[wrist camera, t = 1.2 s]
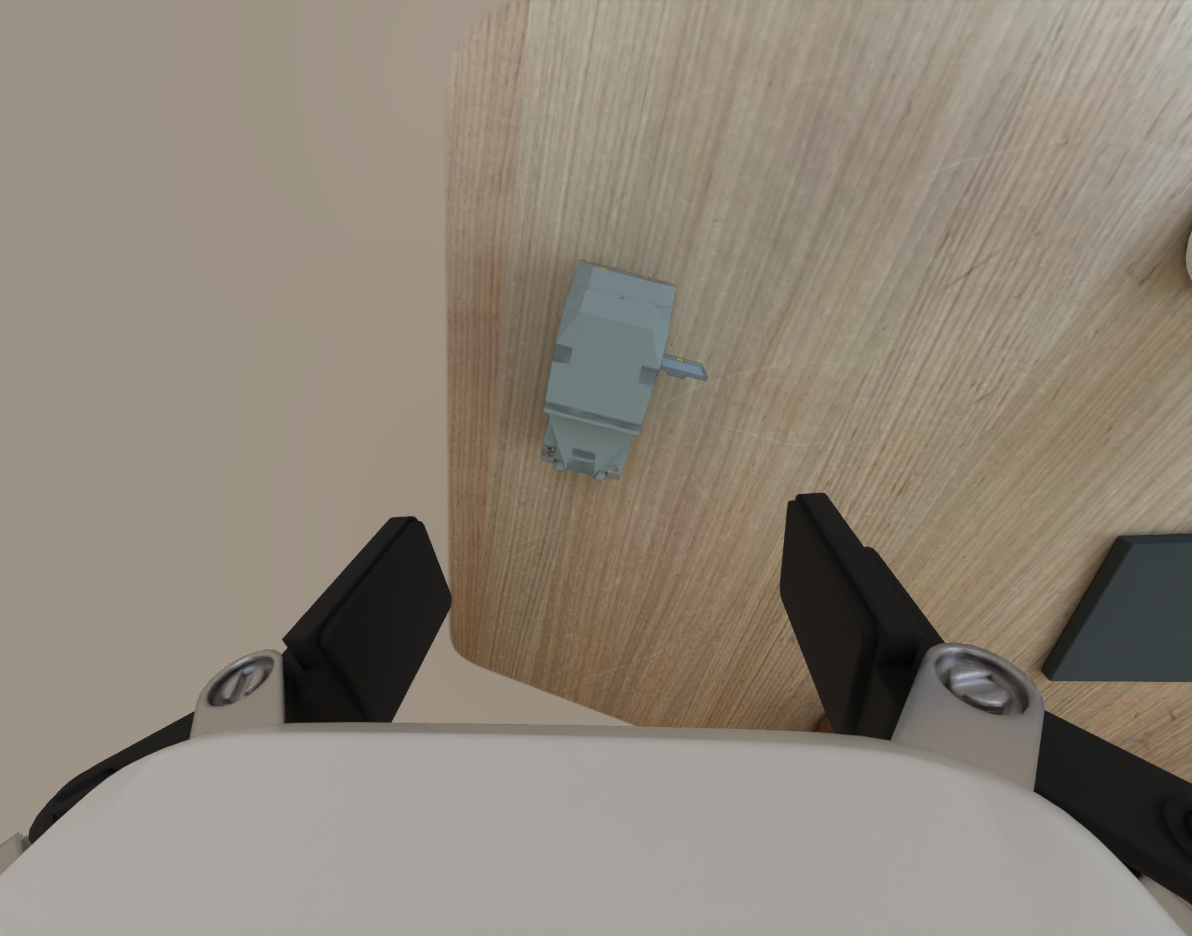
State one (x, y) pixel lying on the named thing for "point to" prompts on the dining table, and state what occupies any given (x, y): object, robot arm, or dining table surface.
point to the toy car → (607, 368)
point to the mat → (1132, 616)
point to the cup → (1189, 256)
